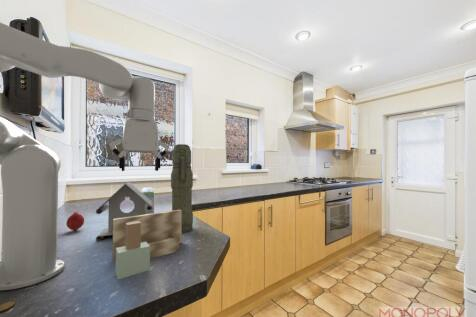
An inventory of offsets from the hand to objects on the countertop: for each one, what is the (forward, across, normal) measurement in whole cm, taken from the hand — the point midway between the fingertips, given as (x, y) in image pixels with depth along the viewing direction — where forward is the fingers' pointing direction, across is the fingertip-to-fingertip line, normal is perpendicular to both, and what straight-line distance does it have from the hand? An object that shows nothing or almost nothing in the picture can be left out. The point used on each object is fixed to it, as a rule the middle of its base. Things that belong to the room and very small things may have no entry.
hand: (140, 170), depth 66 cm
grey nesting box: (+25, -4, +20) cm, 32 cm away
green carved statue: (+25, +17, +15) cm, 33 cm away
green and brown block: (+25, -2, -14) cm, 28 cm away
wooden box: (+25, +4, -4) cm, 25 cm away
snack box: (+25, +5, +39) cm, 47 cm away
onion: (+25, -22, +34) cm, 48 cm away
